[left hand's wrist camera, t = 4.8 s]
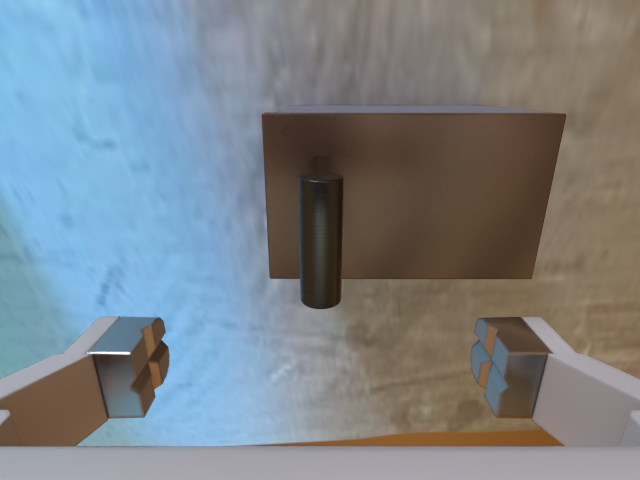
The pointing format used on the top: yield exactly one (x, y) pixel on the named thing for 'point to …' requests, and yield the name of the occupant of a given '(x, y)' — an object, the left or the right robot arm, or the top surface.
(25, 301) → the top surface
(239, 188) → the top surface
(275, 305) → the top surface
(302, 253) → the block with bar handle
